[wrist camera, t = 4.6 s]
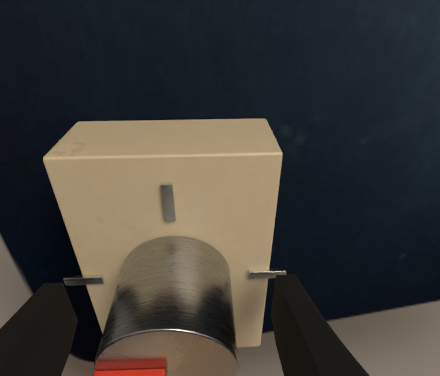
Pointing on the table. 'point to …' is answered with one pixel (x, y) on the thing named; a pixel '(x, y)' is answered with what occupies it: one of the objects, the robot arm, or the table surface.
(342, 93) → the table surface
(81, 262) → the beige rotary knob box
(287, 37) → the table surface
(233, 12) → the table surface
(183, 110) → the table surface
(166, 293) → the dial
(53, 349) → the robot arm
